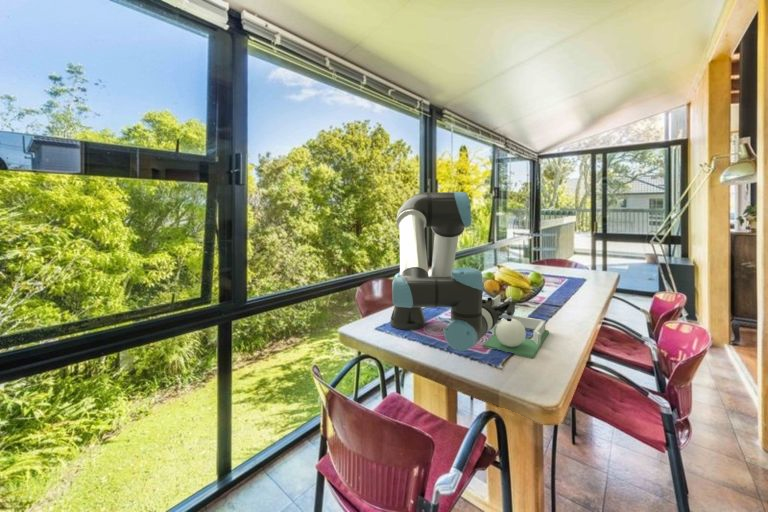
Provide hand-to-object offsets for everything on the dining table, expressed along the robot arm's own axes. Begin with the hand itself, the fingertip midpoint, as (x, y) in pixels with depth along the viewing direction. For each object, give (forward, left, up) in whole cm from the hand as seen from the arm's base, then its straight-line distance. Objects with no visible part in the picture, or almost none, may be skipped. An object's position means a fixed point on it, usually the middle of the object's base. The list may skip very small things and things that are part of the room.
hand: (505, 299), depth 112 cm
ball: (0, +9, -14) cm, 16 cm away
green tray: (0, +18, -20) cm, 27 cm away
